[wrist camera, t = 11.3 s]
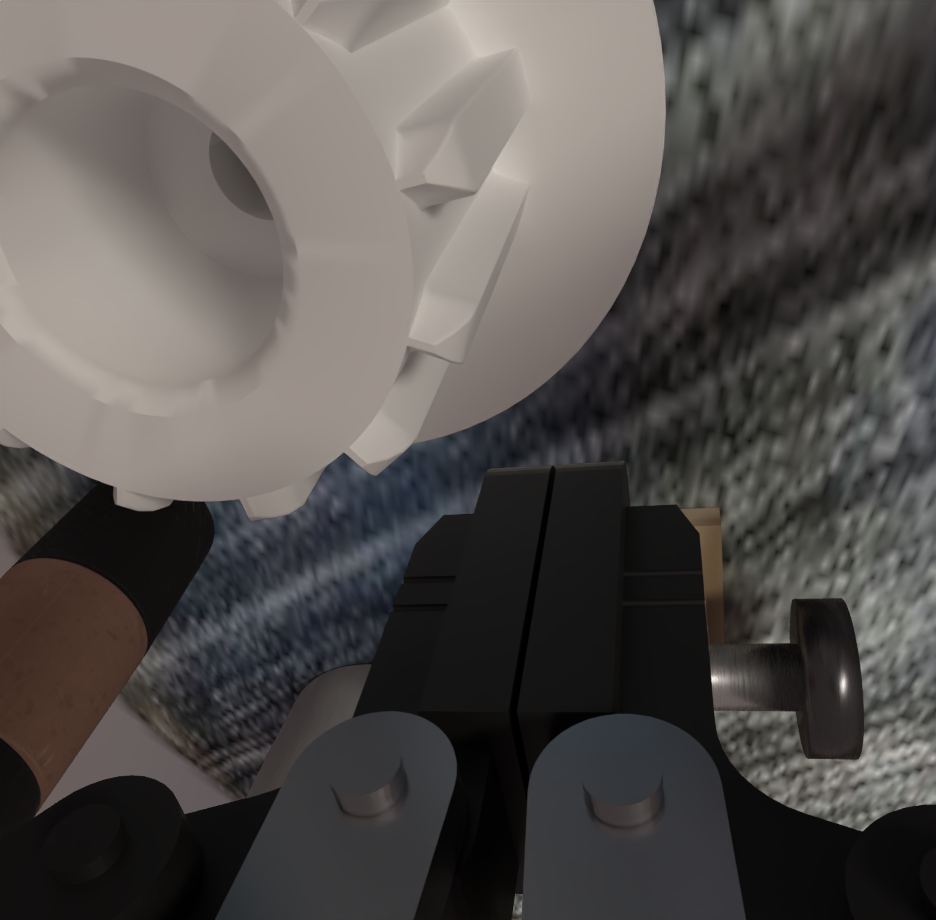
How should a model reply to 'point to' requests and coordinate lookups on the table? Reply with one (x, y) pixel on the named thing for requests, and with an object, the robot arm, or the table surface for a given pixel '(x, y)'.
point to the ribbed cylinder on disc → (306, 226)
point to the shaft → (800, 678)
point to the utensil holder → (311, 721)
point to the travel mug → (83, 631)
